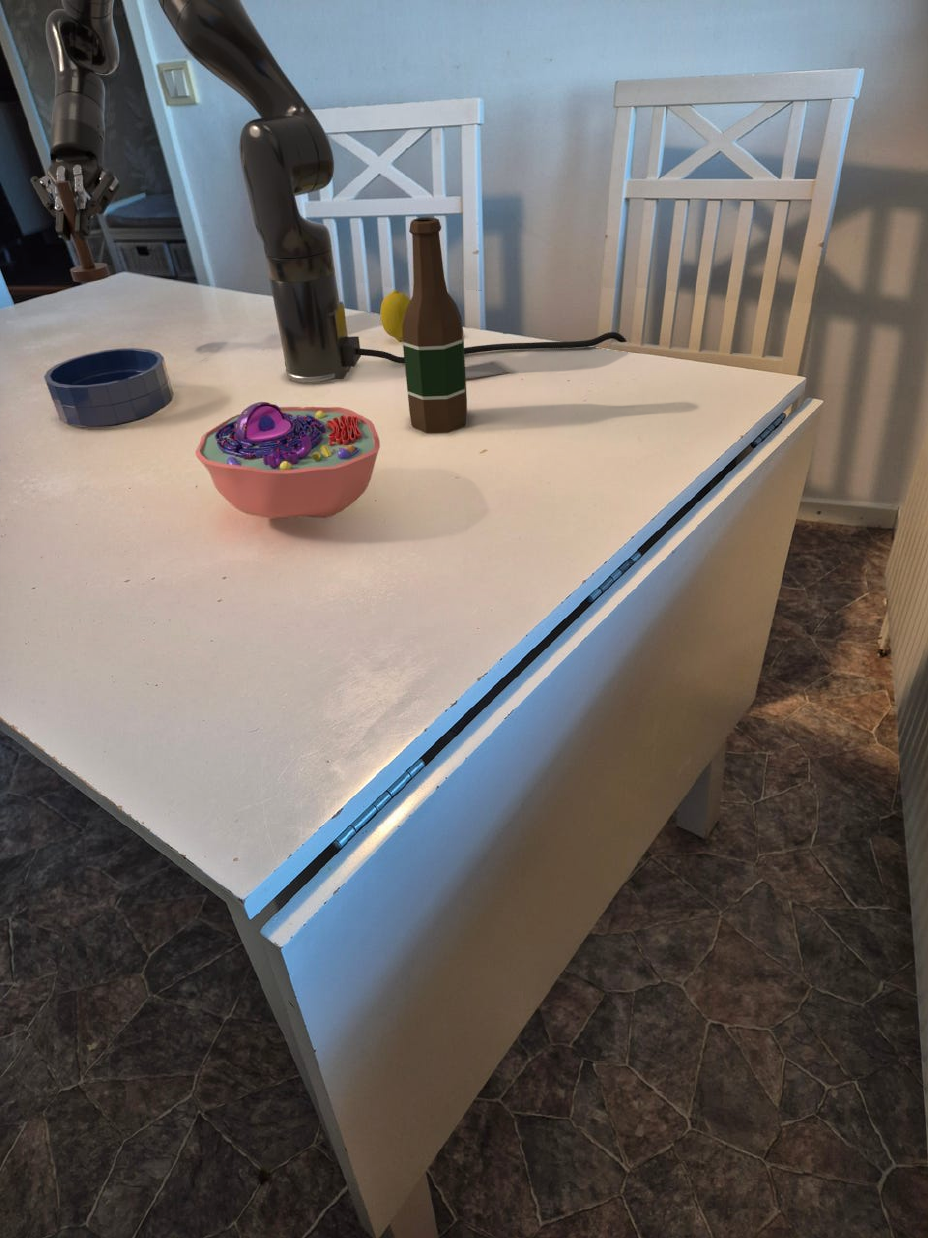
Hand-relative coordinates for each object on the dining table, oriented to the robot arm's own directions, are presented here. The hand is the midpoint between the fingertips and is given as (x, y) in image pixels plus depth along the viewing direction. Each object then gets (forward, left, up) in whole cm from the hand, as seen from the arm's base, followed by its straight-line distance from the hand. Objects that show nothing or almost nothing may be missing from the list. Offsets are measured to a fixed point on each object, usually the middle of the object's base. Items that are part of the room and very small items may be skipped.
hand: (72, 236), depth 123 cm
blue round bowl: (-12, +22, -19) cm, 31 cm away
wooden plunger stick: (0, -2, -6) cm, 7 cm away
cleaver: (-60, +11, -19) cm, 64 cm away
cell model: (-47, +51, -19) cm, 72 cm away
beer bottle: (-59, +28, -19) cm, 68 cm away
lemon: (-48, -6, -19) cm, 52 cm away
